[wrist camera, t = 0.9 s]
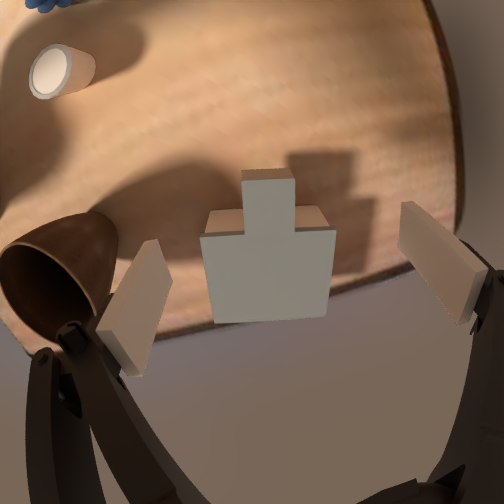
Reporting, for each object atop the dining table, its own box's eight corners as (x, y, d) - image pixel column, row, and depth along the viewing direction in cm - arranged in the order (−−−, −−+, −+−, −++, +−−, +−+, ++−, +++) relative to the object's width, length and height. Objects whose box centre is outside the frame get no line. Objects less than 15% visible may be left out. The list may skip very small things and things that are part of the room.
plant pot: (70, 272, 41) (25, 337, 27) (50, 189, 33) (-19, 241, 20) (147, 278, 42) (114, 358, 28) (134, 185, 34) (75, 245, 21)
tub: (220, 284, 43) (216, 316, 37) (210, 210, 37) (203, 235, 31) (312, 278, 43) (322, 309, 37) (317, 205, 36) (331, 228, 30)
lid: (216, 308, 39) (213, 328, 35) (196, 173, 29) (189, 185, 26) (320, 301, 39) (327, 321, 35) (332, 167, 29) (343, 178, 25)
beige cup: (53, 66, 24) (22, 66, 18) (91, 38, 23) (63, 31, 17) (67, 105, 28) (36, 110, 21) (106, 78, 27) (78, 77, 20)
